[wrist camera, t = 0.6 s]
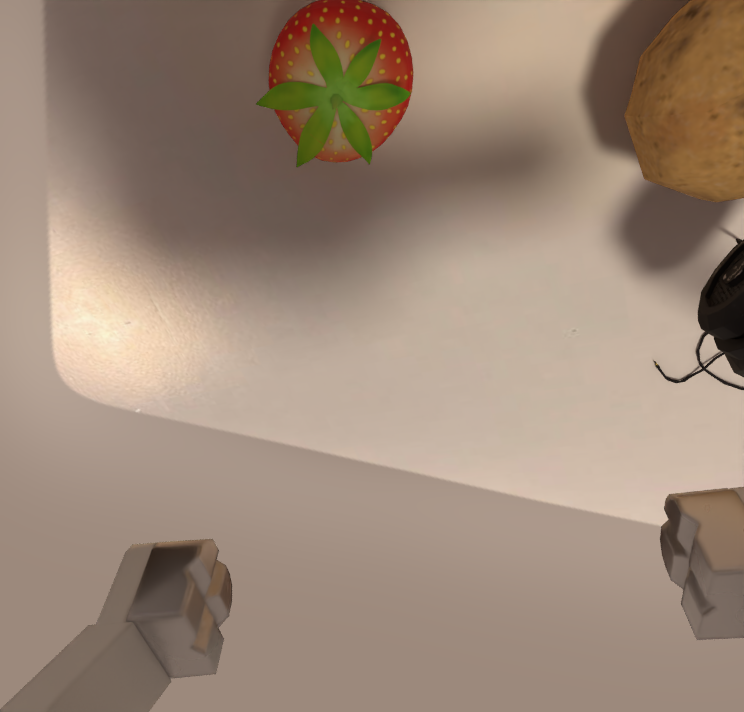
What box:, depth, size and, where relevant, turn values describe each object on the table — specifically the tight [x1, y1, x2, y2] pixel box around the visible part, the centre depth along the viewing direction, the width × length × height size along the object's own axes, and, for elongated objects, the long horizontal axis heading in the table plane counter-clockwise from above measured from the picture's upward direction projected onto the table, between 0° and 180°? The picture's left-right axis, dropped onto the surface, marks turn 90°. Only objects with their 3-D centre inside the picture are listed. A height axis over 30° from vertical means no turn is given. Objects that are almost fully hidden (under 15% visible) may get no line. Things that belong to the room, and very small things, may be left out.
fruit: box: [256, 0, 413, 167], centre depth 23 cm, size 5×5×8 cm
